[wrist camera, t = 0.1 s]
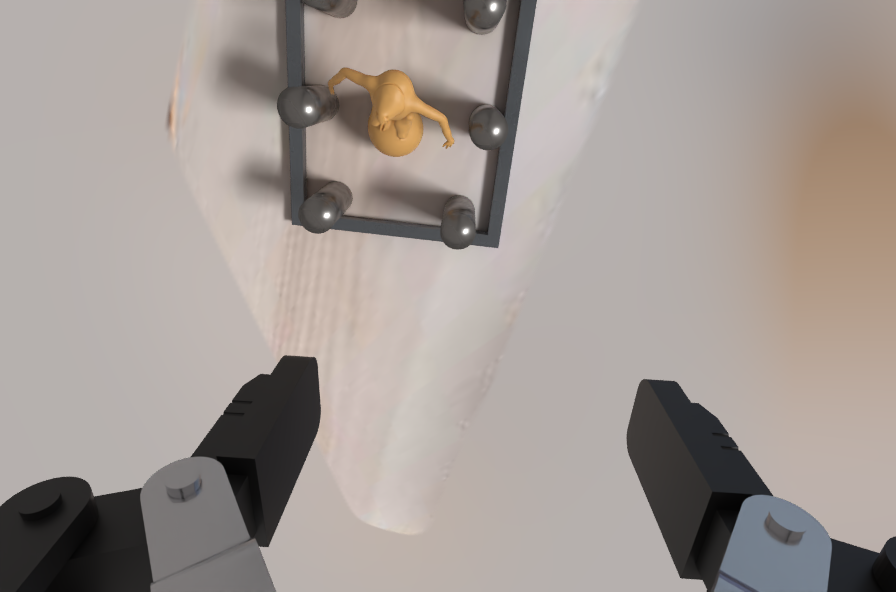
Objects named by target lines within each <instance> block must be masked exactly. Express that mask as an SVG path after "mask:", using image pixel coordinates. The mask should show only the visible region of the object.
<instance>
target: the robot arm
mask: <svg viewBox="0 0 896 592" xmlns="http://www.w3.org/2000/svg"><path fill="white" fill-rule="evenodd" d="M320 415H321V405H320V392H319V378H318V365H317V360H316V358H315V357H302V356H287V355H285V356H283V357H282V358H281V360H280V361H279V363H278V364H277V366H276V367H275V369H274V370H273V372H272V373H271V375H268V374H260V375H258V376H257V377H255V378H254V379H252V380H251V381H249V382H248V383H246V384H245V385H243V386H242V388H241V389H240V390H239V392H238V393H237V395H236V396H235V397H234V399H233V400H232V403H230V404H229V405H228V407H227V408H226V410H225V411H224V414H223V415H221V416H220V418H219V419H218V420H217V422H216V423H215V425H214V426H213V427H212V429H211V430H210V431H209V433H208V434H207V435H206V437H205V438H204V439H203V441H202V442H201V444H200V445H199V446H198V448H197V449H196V450H195V452H194V453H193V455H192V456H191V457H190V458H185V459H182V460H178V461H175V462H173V463H170V464H169V465H167V466H165V467H163V468H161V469H160V470H158V471H157V472H156V473H154V474H153V475H152V476H151V477H150V478H149V479H148V480H147V482H146V483H145V484H144V486H143V488H139V489H135V490H129V491H124V492H117V493H112V494H106V495H101V496H95V497H94V496H93V493H92V490H91V487H90V485H89V484H88V482H86V481H85V480H83V479H81V478H77V477H60V478H54V479H50V480H46V481H43V482H40V483H37V484H35V485H32V486H30V487H28V488H26V489H24V490H22V491H21V492H19V493H17V494H15V495H14V496H12V497H11V498H10V499H9V500H7V501H6V502H5V503H4V504H2V506H0V592H276V590H275V588H274V585H273V582H272V580H271V577H270V574H269V572H268V569H267V567H266V564H265V561H264V559H263V556H262V554H261V551H260V548H259V546H260V547H269V544H270V542H271V539H272V537H273V535H274V532H275V530H276V528H277V526H278V523H279V521H280V519H281V516H282V514H283V512H284V509H285V507H286V504H287V502H288V500H289V498H290V495H291V493H292V490H293V488H294V486H295V483H296V481H297V479H298V476H299V474H300V472H301V469H302V467H303V465H304V462H305V460H306V458H307V455H308V453H309V451H310V448H311V446H312V443H313V441H314V439H315V437H316V434H317V432H318V428H319V423H320ZM627 449H628V453H629V456H630V459H631V461H632V464H633V466H634V468H635V471H636V473H637V475H638V478H639V480H640V483H641V485H642V487H643V490H644V492H645V494H646V497H647V499H648V502H649V504H650V506H651V509H652V511H653V514H654V516H655V518H656V521H657V523H658V526H659V528H660V530H661V533H662V535H663V538H664V540H665V542H666V544H667V547H668V550H669V552H670V554H671V557H672V559H673V562H674V564H675V566H676V569H677V571H678V573H679V576H680V578H685V579H700V580H703V582H704V584H705V586H706V588H707V592H896V537H893V538H890V539H889V540H888V541H887V542H886V544H885V545H884V547H883V549H882V550H881V552H880V553H877V552H873V551H870V550H867V549H863V548H860V547H857V546H854V545H850V544H847V543H844V542H841V541H837V540H834V539H831V538H830V537H829V535H828V533H827V531H826V530H825V529H824V527H823V526H822V525H821V524H820V523H819V522H818V521H817V520H816V519H815V518H814V517H813V516H811V515H810V514H809V513H808V512H806V511H805V510H803V509H802V508H800V507H798V506H796V505H795V504H793V503H791V502H788V501H786V500H783V499H781V498H777V497H774V496H773V495H772V493H771V492H770V491H769V489H768V488H767V486H766V485H765V484H764V482H763V481H762V479H761V478H760V477H759V475H758V474H757V472H756V471H755V470H754V468H753V467H752V466H751V464H750V463H749V461H748V460H747V459H746V457H745V456H744V455H743V453H742V452H741V451H739V450H738V446H737V445H736V443H735V442H734V441H733V440H732V438H731V437H729V436H728V432H727V431H726V430H725V428H724V427H723V425H722V424H721V423H720V421H719V420H718V418H717V417H715V416H714V415H713V414H711V413H710V412H709V411H708V410H706V409H705V408H704V407H702V406H701V405H700V404H699V403H691V402H690V400H689V399H688V397H687V396H686V395H685V393H684V392H683V390H682V389H681V387H680V386H679V384H678V383H677V382H675V381H663V380H647V379H643V380H642V381H641V382H640V384H639V387H638V390H637V394H636V398H635V402H634V406H633V410H632V414H631V418H630V422H629V426H628V430H627Z"/></svg>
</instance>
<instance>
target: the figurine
mask: <svg viewBox="0 0 896 592" xmlns="http://www.w3.org/2000/svg"><path fill="white" fill-rule="evenodd" d="M346 78H348V79H349V80H351V81H353V82H354V83H356V84H358V85H361V86H363V87H364V88H366V89H367V90H368V92H369V93H370V97H371V101H372V104H373V107H372V110H371V114H370V117H369V120H368V133H369V137H370V139H371V141H372V143H373V145H374V146H375V147H376V148H377V149H378V150H379V151H380V152H382V153H384V154H386V155H388V156H393V157H400V156H404V155H407V154H409V153H411V152H412V151H413V150H414V149H415V148H416V147H417V146H418V145H419V143H420V141H421V138H422V135H423V123H422V119H421V116H420V114H421V115H423V116H425V117H427V118H430V119H432V120H435V121H437V122H438V123H439V125H440V127H441V128H442V132H443V134H444V136H445V138H446V139H447V142H446V143H444V144H443V147H444V146H445V145H447V146H446V149H447V148H448V146H449V145H450V146H449V147H451V146H452V144H454V139H453V137H452V135H451V131H450V128H449V125H448V120H447V118H446V116H445V115H444V114H442V113H441V112H439V111H438V110H436V109H434V108H433V107H431V106H429V105H427V104H425V103H424V102H423V101H422V100H420V99H419V98H418V97H417V96H416V94H415V92H414V88H413V85H412V82H411V80H410V79H409V77H408V76H407V75H406V74H405V73H403V72H402V71H399V70H388V71H386V72H384V73H382V74H381V75H379V76H371V75H365V74H363V73H361V72H358V71H355V70H353V69H350V68H342V69H340V71H339V72H338V73H337V74H336V75H335V76H333V77H332V79H331V80H329V82H328V86H329V90H330V93H331V94H332V93H333V95H334V89H333V86H334V85H337V84H339V83H340V82H341V81H342V80H344V79H346Z"/></svg>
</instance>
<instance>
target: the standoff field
mask: <svg viewBox="0 0 896 592" xmlns="http://www.w3.org/2000/svg"><path fill="white" fill-rule="evenodd" d="M536 2H537V0H521V3H520V10H519V17H518V24H517V31H516V38H515V45H514V51H513V58H512V65H511V72H510V79H509V86H508V93H507V100H506V107H505V114H504V116H503V115H502V114H501V112H500V111H499V110H498V109H497V108H496V107H494V106H492V105H488V104H485V105H481V106H479V107H477V108H476V109H475V110H474V111H473V112H472V114H471V116H470V120H469V133H470V137H471V140H472V142H473V143H474V144H475V145H476V146H477V147H479V148H480V149H483V150H494V149H496V148H498V147H500V149H499V155H498V162H497V169H496V176H495V183H494V190H493V197H492V204H491V211H490V218H489V225H488V232H482V231H476V227H475V208H474V205H473V203H472V201H471V200H470V199H468V198H467V197H464V196H455V197H452V198H451V199H449V200H448V201H447V203H446V205H445V208H444V213H443V218H442V223H441V227H438V226H429V225H421V224H412V223H403V222H394V221H386V220H377V219H368V218H359V217H350V216H342V215H343V214H344V213H345V212H346V210H347V209H348V208H349V207H350V206H351V204H352V199H353V198H352V193H351V191H350V189H349V188H348V187H347V186H346V185H345V184H343V183H341V182H330V183H328V184H327V185H326V186H324V187H323V188H322V189H320V190H319V191H318V192H316V193H315V194H314V195H312V196H311V197H310V198H308V199H307V188H306V127H308V126H312V125H315V124H318V123H321V122H324V121H328V120H330V119H332V118H333V117H334V116H335V115H336V114H337V112H338V109H339V101H338V98H337V96H336V94H335V92H334V95H333V93H332V94H331V93H330V90H329V87H327V86H323V85H315V86H305V56H304V3H305V4H307V5H309V6H311V7H313V8H316V9H318V10H320V11H322V12H325V13H327V14H329V15H332V16H334V17H337V18H345V17H348V16H349V15H351V14H352V13H353V12H354V10H355V8H356V5H357V0H286V35H287V70H288V88H287V89H285V90H284V91H282V93H281V94H280V95H279V98H278V101H277V109H278V113H279V115H280V117H281V119H282V120H283V121H284V122H285V123H286V124H287V125H289V140H290V175H291V210H292V225H300V226H303V227H304V228H305V229H306V230H308V231H310V232H312V233H317V234H319V233H324V232H326V231H328V230H329V229H335V230H344V231H353V232H362V233H371V234H379V235H388V236H397V237H406V238H415V239H423V240H432V241H441V242H444V243H445V245H447V246H448V247H450V248H452V249H464V248H466V247H468V246H469V245H476V246H485V247H494V248H498V246H499V240H500V233H501V227H502V220H503V214H504V208H505V201H506V195H507V188H508V182H509V175H510V169H511V163H512V156H513V150H514V143H515V137H516V131H517V124H518V118H519V111H520V105H521V99H522V92H523V86H524V79H525V73H526V66H527V60H528V54H529V47H530V41H531V34H532V28H533V22H534V15H535V9H536ZM506 3H507V0H464V14H465V21H466V24H467V26H468V27H469V29H470V30H471V31H473V32H474V33H476V34H481V35H483V34H488V33H490V32H492V31H493V30H494V29H495V28H496V27H497V25H498V23H499V21H500V19H501V18H502V16H503V14H504V12H505V9H506Z"/></svg>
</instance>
